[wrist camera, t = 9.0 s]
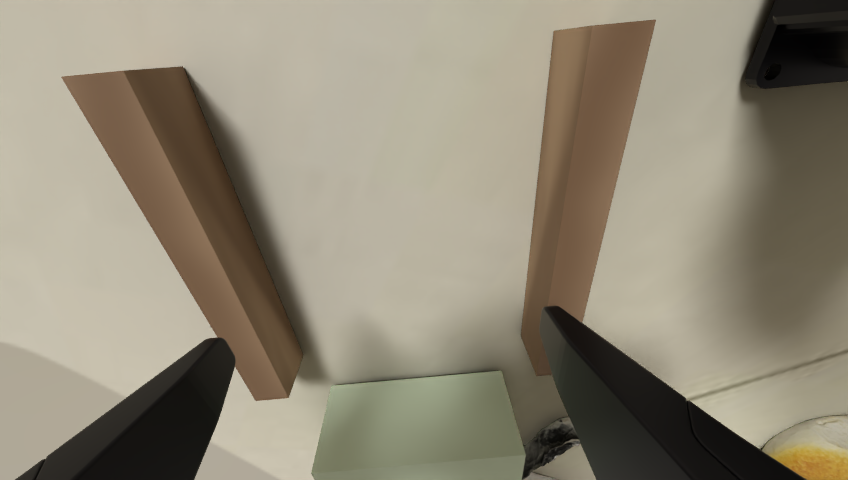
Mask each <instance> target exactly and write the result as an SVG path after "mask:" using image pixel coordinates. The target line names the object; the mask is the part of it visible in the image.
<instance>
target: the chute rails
mask: <svg viewBox="0 0 848 480" xmlns="http://www.w3.org/2000/svg"><path fill="white" fill-rule="evenodd" d="M655 22H656V20H647V21H637V22H626V23H616V24H605V25H595V26H587V27H579V28H572V29H565V30H557V31H554V34H553V43H552V52H551V62H550V71H549V80H548V89H547V99H546V108H545V117H544V126H543V136H542V145H541V154H540V163H539V173H538V182H537V191H536V200H535V209H534V219H533V228H532V237H531V246H530V256H529V265H528V274H527V283H526V293H525V302H524V311H523V320H522V330H521V337H522V340H523V343H524V345H525V348H526V350H527V353H528V355H529V358H530V360H531V363H532V365H533V368H534V371H535V373H536V376H542V375H552V372H551V369H550V365H549V362H548V359H547V356H546V353H545V349H544V346H543V343H542V340H541V336H540V332H539V326H540V318H541V311H542V308H543V307H545V306H555V305H556V306H559V307H561V308H562V309H564V310H565V311H566V312H568V313H569V314H571V315H572V316H573V317H575V318H576V319H578V320H579V321H580V322H582V321H583V317H584V313H585V309H586V305H587V301H588V297H589V292H590V288H591V284H592V280H593V276H594V272H595V268H596V264H597V260H598V256H599V251H600V247H601V243H602V239H603V235H604V231H605V227H606V223H607V219H608V215H609V210H610V206H611V202H612V198H613V194H614V190H615V186H616V182H617V178H618V174H619V169H620V165H621V161H622V157H623V153H624V149H625V145H626V141H627V137H628V132H629V128H630V124H631V120H632V116H633V112H634V108H635V104H636V100H637V96H638V91H639V87H640V83H641V79H642V75H643V71H644V67H645V63H646V59H647V55H648V50H649V46H650V42H651V38H652V34H653V30H654V26H655ZM62 79H63V81H64V82H65V84H66V86H67V87H68V89H69V91H70V92H71V94H72V96H73V97H74V99H75V101H76V102H77V104H78V106H79V107H80V109H81V111H82V112H83V114H84V116H85V117H86V119H87V121H88V122H89V124H90V126H91V127H92V129H93V131H94V132H95V134H96V136H97V137H98V139H99V141H100V142H101V144H102V146H103V147H104V149H105V151H106V152H107V154H108V156H109V157H110V159H111V161H112V162H113V164H114V166H115V167H116V169H117V171H118V172H119V174H120V176H121V177H122V179H123V181H124V182H125V184H126V186H127V187H128V189H129V191H130V192H131V194H132V196H133V197H134V199H135V201H136V202H137V204H138V206H139V207H140V209H141V211H142V212H143V214H144V216H145V217H146V219H147V221H148V222H149V224H150V226H151V227H152V229H153V231H154V232H155V234H156V236H157V237H158V239H159V241H160V242H161V244H162V246H163V247H164V249H165V251H166V252H167V254H168V256H169V257H170V259H171V261H172V262H173V264H174V266H175V267H176V269H177V271H178V272H179V274H180V276H181V277H182V279H183V281H184V282H185V284H186V286H187V287H188V289H189V291H190V292H191V294H192V296H193V297H194V299H195V300H196V302H197V304H198V305H199V307H200V309H201V310H202V312H203V314H204V315H205V317H206V319H207V320H208V322H209V324H210V325H211V327H212V329H213V330H214V332H215V334H216V335H217V337H218V338H219V337H221V338H224V339H225V340H226V342H227V343H228V345H229V347H230V348H231V350H232V352H233V353H234V355H235V358H236V363H235V367H236V369H237V370H238V372H239V374H240V375H241V377H242V379H243V380H244V382H245V384H246V385H247V387H248V389H249V390H250V392H251V394H252V395H253V397H254V399H255V400H256V401H259V400H271V399H282V398H289V395H290V392H291V389H292V387H293V384H294V381H295V378H296V375H297V372H298V369H299V366H300V363H301V361H302V358H303V353H302V351H301V348H300V346H299V344H298V341H297V339H296V336H295V334H294V332H293V329H292V327H291V324H290V322H289V320H288V317H287V315H286V312H285V310H284V308H283V305H282V303H281V300H280V298H279V296H278V293H277V291H276V288H275V286H274V284H273V281H272V279H271V276H270V274H269V272H268V269H267V267H266V264H265V262H264V260H263V257H262V255H261V252H260V250H259V248H258V245H257V243H256V240H255V238H254V236H253V233H252V231H251V229H250V226H249V224H248V221H247V219H246V217H245V214H244V212H243V209H242V207H241V205H240V202H239V200H238V197H237V195H236V193H235V190H234V188H233V185H232V183H231V181H230V178H229V176H228V173H227V171H226V169H225V166H224V164H223V161H222V159H221V157H220V154H219V152H218V149H217V147H216V145H215V142H214V140H213V137H212V135H211V133H210V130H209V128H208V125H207V123H206V121H205V118H204V116H203V113H202V111H201V109H200V106H199V104H198V101H197V99H196V97H195V94H194V92H193V90H192V87H191V85H190V82H189V80H188V78H187V75H186V73H185V70H184V68H183V67H170V68H156V69H142V70H128V71H116V72H106V73H95V74H85V75H74V76H64V77H62Z"/></svg>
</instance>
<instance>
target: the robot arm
mask: <svg viewBox="0 0 848 480" xmlns="http://www.w3.org/2000/svg"><path fill="white" fill-rule="evenodd" d="M769 67H770V68H769ZM768 68H769V71H768V73H767V74H766V75H765V72H766V70H767V69H768ZM764 75H765V76H764ZM745 80H746V84H747V85H748V86H749V87H755V88H764V89H767V88H778V87H788V86H799V85H810V84H820V83H831V82H842V81H848V0H775V2H774V4H773V7H772V9H771V12H770V15H769V17H768V20H767V22H766V25H765V27H764V30H763V32H762V35H761V37H760V40H759V43H758V45H757V48H756V50H755V53H754V55H753V58H752V60H751V63H750V65H749V68H748V70H747V73H746V78H745ZM539 332H540V336H541V340H542V343H543V346H544V349H545V353H546V356H547V359H548V362H549V365H550V369H551V372H552V375H553V378H554V381H555V384H556V387H557V390H558V392H559V395H560V397H561V399H562V402H563V404H564V406H565V409H566V411H567V413H568V415H569V418H570V420H571V422H572V425H573V427H574V429H575V432H576V434H577V436H578V438H579V441H580V443H581V445H582V448H583V450H584V452H585V454H586V457H587V459H588V461H589V464H590V466H591V468H592V471H593V473H594V475H595V477H596V480H807V479H805V478H803V477H802V476H800V475H799V474H797V473H796V472H794V471H792V470H791V469H789V468H788V467H786V466H785V465H783V464H782V463H780V462H778V461H777V460H775V459H774V458H772V457H771V456H769V455H768V454H766V453H765V452H763V451H761V450H760V449H758V448H757V447H755V446H754V445H752V444H751V443H749V442H748V441H746V440H745V439H743V438H742V437H740V436H739V435H737V434H736V433H734V432H733V431H731V430H730V429H729V428H727V427H726V426H724V425H723V424H721V423H720V422H719V421H717V420H716V419H714V418H713V417H711V416H710V415H709V414H707V413H706V412H704V411H703V410H702V409H700V408H699V407H698V406H696V405H695V404H693V403H692V402H691V401H686V398H685V397H684V396H682V395H681V394H679V393H678V392H677V391H675V390H674V389H673V388H671V387H670V386H668V385H667V384H666V383H664V382H663V381H662V380H660V379H659V378H657V377H656V376H655V375H653V374H652V373H651V372H649V371H648V370H646V369H645V368H644V367H642V366H641V365H639V364H638V363H637V362H635V361H634V360H633V359H631V358H630V357H628V356H627V355H626V354H624V353H623V352H622V351H620V350H619V349H617V348H616V347H615V346H613V345H612V344H611V343H609V342H608V341H606V340H605V339H604V338H602V337H601V336H600V335H598V334H597V333H595V332H594V331H593V330H591V329H590V328H589V327H587V326H586V325H584V324H583V323H582V322H580V321H579V320H578V319H576V318H575V317H573V316H572V315H571V314H569V313H568V312H566V311H565V310H564V309H562V308H561V307H559V306H556V305H555V306H545V307H543V308H542V311H541V318H540V326H539ZM235 363H236V358H235V355H234V353H233V352H232V350H231V348H230V347H229V345H228V343H227V342H226V340H225V339H224V338H221V337H219V338H209V339H206V340H204V341H203V342H202V343H200V344H199V345H197V346H196V347H195V348H193V349H192V350H191V351H189V352H188V353H187V354H185V355H184V356H183V357H181V358H180V359H178V360H177V361H176V362H174V363H173V364H172V365H170V366H169V367H168V368H166V369H165V370H164V371H162V372H161V373H159V374H158V375H157V376H155V377H154V378H153V379H151V380H150V381H149V382H147V383H146V384H145V385H143V386H142V387H140V388H139V389H138V390H136V391H135V392H134V393H132V394H131V395H130V396H128V397H127V398H126V399H124V400H123V401H121V402H120V403H119V404H117V405H116V406H115V407H114V408H112V409H111V410H109V411H108V412H107V413H105V414H104V415H102V416H101V417H100V418H98V419H97V420H96V421H94V422H93V423H92V424H91V425H89V426H88V427H86V428H85V429H83V430H82V431H81V432H79V433H78V434H77V435H75V436H74V437H73V438H72V439H70V440H68V441H67V442H66V443H64V444H63V445H62V446H60V447H59V448H58V449H56V450H55V451H54V452H52V453H51V454H50V455H48V456H47V458H46V459H43V460H41V461H40V462H38V463H37V464H36V465H35V466H33V467H32V468H31V469H29V470H28V471H26V472H25V473H24V474H23V475H21V476H20V477H18V478H17V479H15V480H194V479H195V476H196V474H197V471H198V469H199V467H200V464H201V462H202V459H203V456H204V454H205V452H206V449H207V447H208V445H209V442H210V440H211V437H212V435H213V432H214V430H215V427H216V425H217V422H218V419H219V417H220V414H221V411H222V407H223V404H224V401H225V397H226V394H227V391H228V387H229V384H230V381H231V377H232V374H233V371H234V367H235Z"/></svg>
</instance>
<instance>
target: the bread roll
mask: <svg viewBox="0 0 848 480" xmlns="http://www.w3.org/2000/svg"><path fill="white" fill-rule="evenodd" d="M762 451H763V452H765V453H766V454H768V455H769V456H771V457H772V458H774V459H775V460H777V461H778V462H780V463H782V464H783V465H785V466H786V467H788V468H789V469H791V470H792V471H794V472H796V473H797V474H799V475H800V476H802V477H803V478H805V479H807V480H848V415H840V416H827V417H820V418H816V419H811V420H808V421H804V422H802V423H799V424H796V425H794V426H792V427H791V428H789V429H787V430H785V431H783V432H781V433H779V434H777V435H776V436H774V437H773V438H772V439H771V440H769V441H768V442H767V443H766V445H765V446H764V448H763V449H762Z"/></svg>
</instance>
